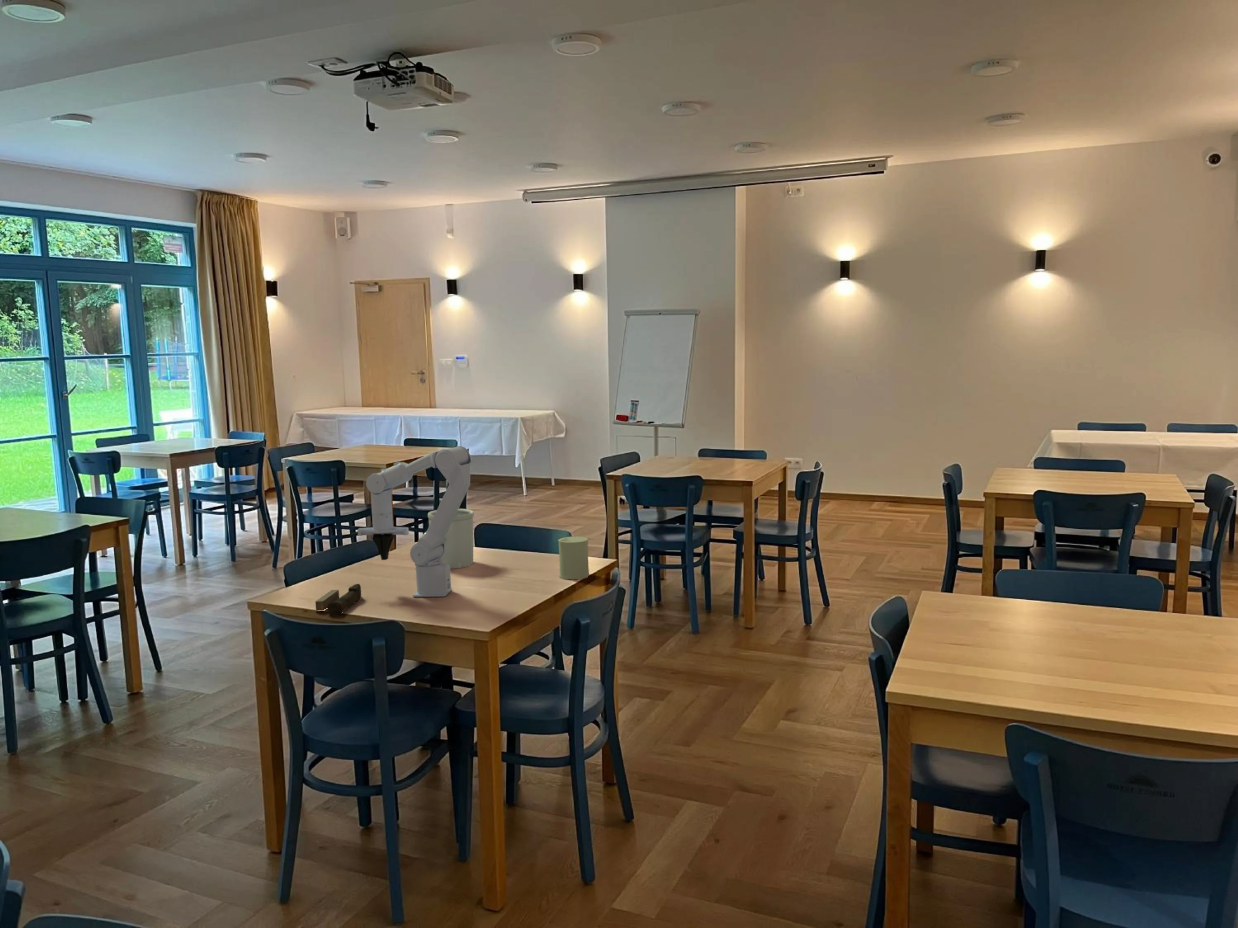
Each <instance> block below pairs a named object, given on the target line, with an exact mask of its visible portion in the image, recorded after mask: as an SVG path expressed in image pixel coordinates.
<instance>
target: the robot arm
mask: <svg viewBox="0 0 1238 928" xmlns="http://www.w3.org/2000/svg"><path fill="white" fill-rule="evenodd" d="M472 463H473V459H472V457H471V454H470V452H469V450H468V449H467V448H466V447H464V446H461V445H458V446H454V447H450V448H444V449H443V448H442V449H440V450H437V451H433V452H430V453H428V454H426V455H423V456H422V457H419V458H418V459H416V460H414V461H412V462H409V463H407V462H404V461H402V462H401V461H396V462H394V463H393V465H392V466H391V467H388V468H382V469H380V472H377V473H376V472H375V473H371V474H370V475H368V477H367V478H366V481H365V485H366V488H367V490H368V491H369V492H370V501H371V502H370V504H371V518H372V527H359V528H358V529H357V536H358V537H361V536H373V537H372V542H373V543H374V545H375V546H376V548H377V550H378V553H379V555H380V558H381V561H386V560H388V559H389V555H390V549H391V546H392V543H393V540H394V538H395V536H400V535H401V536H407V535H409V534H410V533H409V531H410V530H409V527H403V526H401V527H400V526H394V520H393V518H394V517H393V503H392V499H393V497H392V495H393V490H394V488H396V487H398V486H400V485H403V484H405V483H407V482H409V481H411V480H412V478H413V475H414V474H416V473H420V472H422V471H424V470H427V469H430V468H433V469H438V470H439V472H440V473H441V475H443V477H444V478H445V479H446V481H447V483H448V486H447V488H446V490H445V492H444V495H443V496H442V499H441V501H440V502H439V505H438V507H437V509H436V510H437V511H436V513H435V515H434V517H433V519H432V521H431V523H430V526H429V525H428V528H427V530H426V531H425V532H424V534H422V535H421V536H420V537H419V539H418V540H417V542H416V543H415V544H413V545H412V546H411V548H410V553H409V555H410V559H411V561H412V562H413V563H414V566H415V576H416V577H415V578H416V591H415V593H413V594H412V597H414V598H417V597H418V598H419V597H420V598H423V597H428V598H429V597H431V598H432V597H434V598H437V597H447V595H448V594H449V593H450V592H451V591H452V589H453V588H452V581H451V580H452V579H451V569H450V566H449V564H447V563H441V561H442V559H441V557H442V556H443V555H444V553H445V544H446V542H447V539H446V537H445V535H446V533H447V531H448V529H449V527H450V525H451V523H452V521H453V519H454V517H455V515H456V513H457V511H458V509H460V506H461V504H462V502H463V501H464V499H465V496H466V494H467V492H468V490H469V488H470V486H471V466H472Z"/></svg>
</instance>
